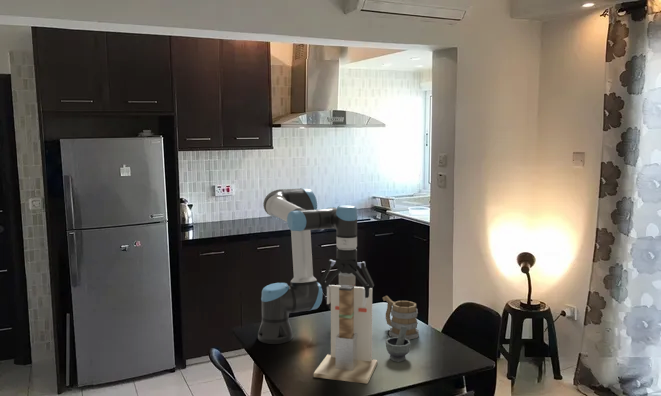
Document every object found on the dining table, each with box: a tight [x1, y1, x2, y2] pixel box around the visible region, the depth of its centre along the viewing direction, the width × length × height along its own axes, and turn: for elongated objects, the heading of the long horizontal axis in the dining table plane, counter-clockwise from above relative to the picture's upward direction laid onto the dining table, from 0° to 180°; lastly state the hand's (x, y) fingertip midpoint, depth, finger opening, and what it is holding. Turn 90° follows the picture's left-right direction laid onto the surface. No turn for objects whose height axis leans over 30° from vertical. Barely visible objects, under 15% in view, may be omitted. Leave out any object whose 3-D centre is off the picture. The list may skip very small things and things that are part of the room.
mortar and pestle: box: [385, 326, 411, 363], centre depth 215 cm, size 11×9×12 cm
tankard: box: [382, 295, 420, 341], centre depth 244 cm, size 20×13×15 cm, turn 34°
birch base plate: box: [313, 353, 378, 384], centre depth 204 cm, size 20×18×2 cm
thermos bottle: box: [338, 272, 356, 287], centre depth 260 cm, size 8×8×28 cm
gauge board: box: [330, 284, 373, 361], centre depth 209 cm, size 16×2×28 cm, turn 74°
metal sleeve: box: [336, 333, 357, 371], centre depth 203 cm, size 7×7×12 cm
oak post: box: [339, 285, 354, 338], centre depth 202 cm, size 5×5×24 cm
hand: (346, 304), depth 201 cm, fingers open, 13 cm apart
